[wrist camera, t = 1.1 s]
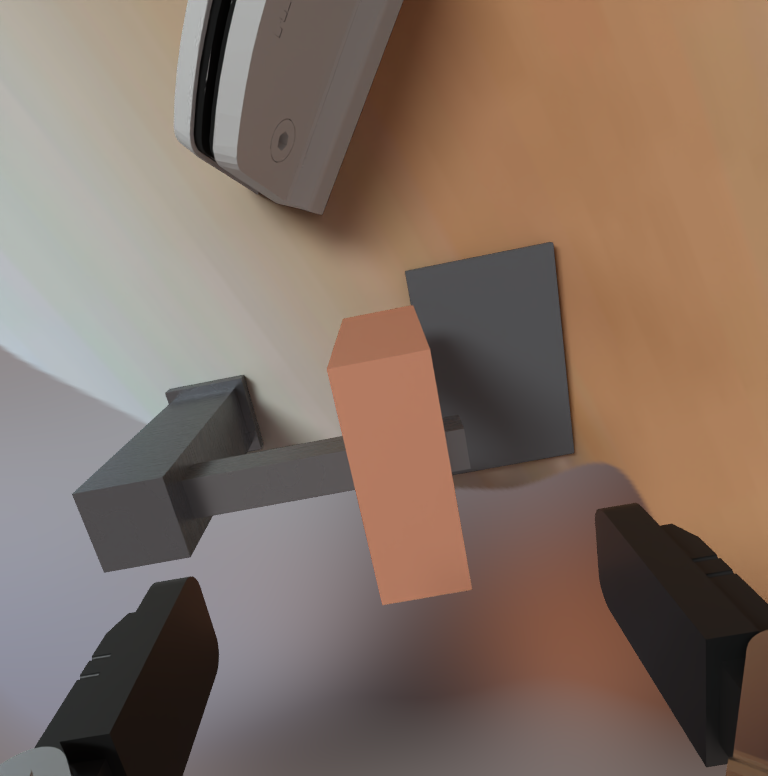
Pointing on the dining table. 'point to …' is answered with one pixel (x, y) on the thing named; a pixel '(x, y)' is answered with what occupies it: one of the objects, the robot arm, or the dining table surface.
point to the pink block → (398, 455)
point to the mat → (498, 352)
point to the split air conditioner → (278, 89)
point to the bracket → (207, 475)
